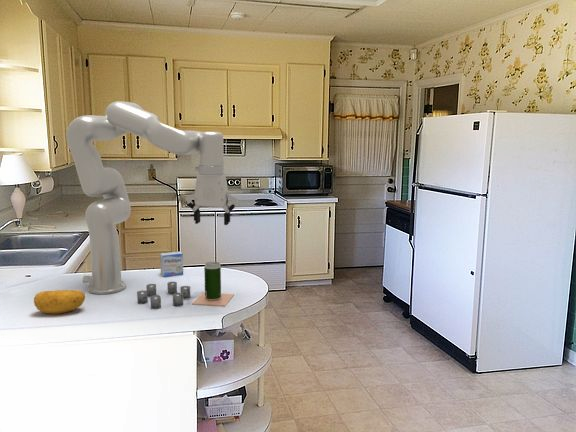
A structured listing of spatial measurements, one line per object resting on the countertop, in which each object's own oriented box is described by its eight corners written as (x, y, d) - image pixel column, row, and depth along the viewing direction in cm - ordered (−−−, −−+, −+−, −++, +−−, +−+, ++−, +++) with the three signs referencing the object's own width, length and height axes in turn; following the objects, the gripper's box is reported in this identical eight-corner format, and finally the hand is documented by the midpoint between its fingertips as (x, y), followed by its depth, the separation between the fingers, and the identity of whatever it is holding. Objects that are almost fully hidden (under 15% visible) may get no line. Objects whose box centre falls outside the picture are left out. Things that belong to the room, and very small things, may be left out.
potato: (82, 315, 147) (81, 293, 146) (31, 318, 145) (29, 295, 143) (87, 306, 154) (86, 285, 153) (39, 309, 152) (37, 287, 150)
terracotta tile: (192, 304, 157) (192, 303, 157) (202, 293, 168) (202, 292, 168) (225, 306, 156) (225, 305, 156) (233, 295, 166) (233, 294, 166)
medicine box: (163, 277, 185) (162, 255, 183) (160, 274, 189) (159, 252, 187) (183, 275, 188) (183, 253, 187) (180, 271, 192) (179, 250, 191)
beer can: (209, 302, 158) (208, 267, 156) (202, 297, 163) (201, 263, 160) (223, 299, 161) (223, 264, 159) (216, 294, 165) (216, 260, 163)
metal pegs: (130, 307, 154) (130, 297, 153) (153, 289, 171) (152, 280, 170) (177, 310, 152) (176, 300, 151) (195, 292, 168) (194, 282, 168)
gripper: (181, 171, 152) (182, 224, 155) (235, 173, 149) (235, 227, 152) (189, 169, 159) (190, 220, 162) (240, 170, 157) (240, 222, 160)
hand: (212, 223), depth 157 cm, fingers open, 9 cm apart
